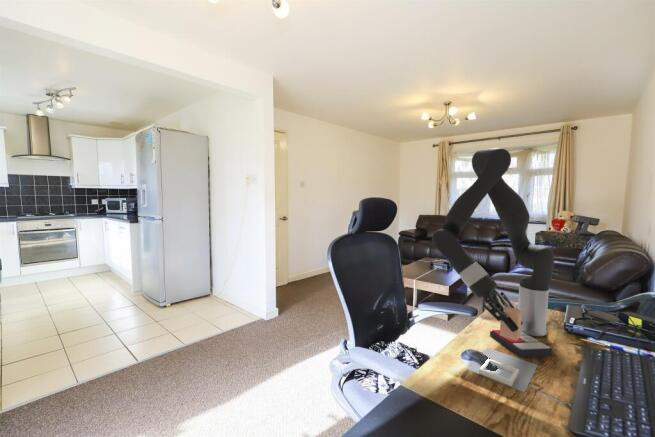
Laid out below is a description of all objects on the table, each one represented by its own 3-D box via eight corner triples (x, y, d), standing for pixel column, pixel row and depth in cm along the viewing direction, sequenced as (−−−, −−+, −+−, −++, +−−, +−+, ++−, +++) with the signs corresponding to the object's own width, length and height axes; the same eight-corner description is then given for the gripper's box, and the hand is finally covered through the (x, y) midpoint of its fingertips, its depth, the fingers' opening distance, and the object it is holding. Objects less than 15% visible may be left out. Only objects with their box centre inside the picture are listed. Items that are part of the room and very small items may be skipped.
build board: (486, 351, 99) (487, 344, 99) (537, 368, 89) (538, 361, 89) (467, 373, 86) (467, 365, 86) (523, 396, 76) (524, 387, 76)
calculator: (517, 328, 110) (553, 346, 95) (517, 339, 110) (552, 360, 95) (489, 328, 108) (520, 347, 93) (489, 340, 109) (520, 361, 94)
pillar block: (503, 330, 94) (505, 306, 94) (520, 335, 91) (522, 310, 91) (499, 335, 91) (501, 310, 90) (516, 340, 88) (518, 314, 87)
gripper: (479, 277, 90) (523, 329, 82) (493, 269, 100) (534, 314, 93) (460, 290, 94) (500, 341, 87) (475, 281, 104) (513, 326, 97)
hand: (517, 327), depth 90 cm, fingers closed on pillar block, 4 cm apart
